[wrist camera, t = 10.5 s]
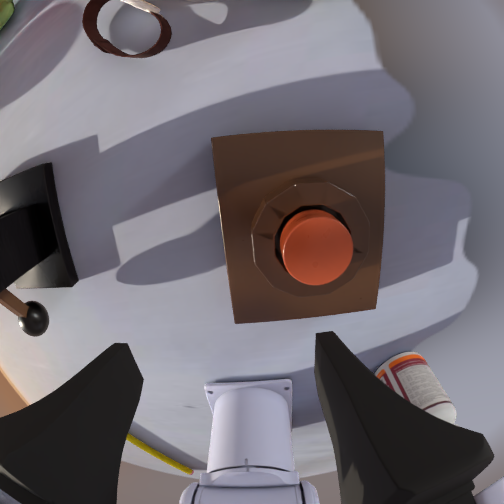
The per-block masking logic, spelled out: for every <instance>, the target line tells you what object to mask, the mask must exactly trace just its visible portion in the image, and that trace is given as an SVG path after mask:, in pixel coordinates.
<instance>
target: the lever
mask: <svg viewBox="0 0 504 504" xmlns="http://www.w3.org/2000/svg"><path fill="white" fill-rule="evenodd" d="M0 303H1V304H2V305H3V306H5V307H6V308H7V309H9V310H10V311H11V312H13V313H14V314H16V315H17V316H18V320H19V324H20V326H21V328H22V330H23V331H24V332H25V333H27V334H28V335H30V336H40V335H42V334H43V333H44V332H45V331H46V330H47V328H48V325H49V316H48V313H47V310H46V309H45V307H44V306H43V305H42V304H40V303H39V302H36V301H28V302H26V303H23V302H22V301H21V300H19V299H18V298H17V297H16V296H14V295H13V294H12V293H11V292H10V291H8V290H7V289H4V290H3V291H2V292H1V293H0Z"/></svg>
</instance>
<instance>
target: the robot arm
mask: <svg viewBox="0 0 504 504" xmlns="http://www.w3.org/2000/svg"><path fill="white" fill-rule="evenodd" d="M314 373H315V379H316V385H317V391H318V396H319V400H320V403H321V406H322V410H323V413H324V416H325V420H326V423H327V427H328V430H329V433H330V437H331V440H332V444H333V448H334V453H335V459H336V465H337V472H338V479H339V486H340V496H341V504H504V476H503V477H502V478H500V479H499V480H497V481H496V482H495V483H493V484H492V485H490V486H489V487H487V488H486V489H484V490H482V491H481V492H480V493H478V494H476V495H475V496H474V497H473V495H472V492H471V491H472V490H473V489H474V488H475V485H474V483H473V481H472V480H473V479H474V478H475V477H476V476H477V475H478V474H480V473H481V472H482V471H483V470H484V469H485V468H486V467H487V466H488V465H489V464H490V463H491V461H492V460H493V458H494V454H493V452H492V450H491V448H490V446H489V444H488V442H487V440H486V439H485V437H484V436H483V434H481V433H478V432H474V431H471V430H468V429H465V428H462V427H459V426H456V425H454V424H451V423H449V422H447V421H444V420H442V419H440V418H438V417H436V416H434V415H432V414H430V413H428V412H426V411H424V410H423V409H421V408H419V407H417V406H415V405H414V404H412V403H411V402H409V401H408V400H406V399H404V398H403V397H402V396H400V395H399V394H397V393H396V392H395V391H393V390H392V389H391V388H390V387H388V386H387V385H386V384H385V383H383V382H382V381H381V380H380V379H379V378H378V377H376V376H375V375H374V374H373V373H372V372H371V371H370V370H369V369H368V368H367V367H366V366H365V365H364V364H363V363H362V362H361V361H360V360H359V359H358V358H357V357H356V356H355V355H354V354H353V353H352V352H351V351H350V350H349V349H348V348H347V347H346V345H345V344H344V343H343V342H342V341H341V340H340V339H339V337H338V336H337V335H336V334H335V333H334V332H333V331H329V332H322V333H316V345H315V370H314ZM143 380H144V379H143V377H142V375H141V373H140V370H139V368H138V366H137V364H136V362H135V360H134V357H133V355H132V353H131V350H130V348H129V346H128V343H114V344H113V345H111V346H110V347H109V348H107V349H106V350H105V351H104V352H102V353H101V354H100V355H99V356H98V357H96V358H95V359H94V360H93V361H92V362H90V363H89V364H88V365H87V366H86V367H84V368H83V369H82V370H81V371H80V372H78V373H77V374H76V375H75V376H73V377H72V378H71V379H70V380H68V381H67V382H66V383H64V384H63V385H62V386H60V387H59V388H58V389H56V390H55V391H53V392H52V393H50V394H49V395H47V396H46V397H44V398H42V399H41V400H39V401H37V402H35V403H33V404H31V405H29V406H28V407H25V408H24V409H21V410H19V411H17V412H14V413H12V414H9V415H7V416H4V417H1V418H0V504H116V502H117V485H118V476H119V468H120V463H121V457H122V452H123V448H124V444H125V441H126V438H127V435H128V432H129V429H130V426H131V423H132V421H133V418H134V415H135V412H136V409H137V406H138V403H139V400H140V396H141V391H142V386H143ZM204 389H205V392H206V396H207V399H208V402H209V405H210V408H211V411H212V414H213V424H212V432H211V440H210V449H209V457H208V466H207V473H201V475H200V483H197V482H194V483H191V484H190V485H189V486H188V487H187V488H186V489H185V490H184V491H183V493H182V495H181V498H180V502H179V504H319V498H318V494H317V491H316V488H315V487H314V486H313V485H312V484H310V483H309V482H308V481H301V482H300V483H299V474H298V472H297V471H295V466H294V457H293V447H292V438H291V432H292V381H291V380H290V379H280V380H268V381H252V382H230V383H206V384H205V386H204Z"/></svg>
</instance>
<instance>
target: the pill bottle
mask: <svg viewBox="0 0 504 504" xmlns="http://www.w3.org/2000/svg"><path fill="white" fill-rule="evenodd" d="M374 375H375V376H376V377H378V378H379V379H380V380H381V381H382V382H383V383H385V384H386V385H387V386H388V387H390V388H391V389H392V390H393V391H395V392H396V393H397V394H399V395H400V396H402V397H403V398H404V399H406V400H408V401H409V402H411V403H412V404H414V405H415V406H417V407H419V408H421V409H423V410H424V411H426V412H428V413H430V414H432V415H434V416H436V417H438V418H440V419H442V420H444V421H447V422H449V423H451V424H454V422H455V420H456V409H455V408H454V405H453V404H452V402H451V400H450V399H449V397H448V396H447V394H446V392H445V391H444V389H443V388H442V386H441V384H440V383H439V381H438V379H437V378H436V376H435V375H434V373H433V372H432V370H431V368H430V367H429V366H428V364H427V362H426V361H425V359H424V358H423V357H422V356H421V355H420V354H419V353H416V352H404V353H401V354H398V355H396V356H394V357H392V358H390V359H389V360H387V361H386V362H385V363H384V364H382V365H381V366H380V367H379V368H378V370H377V371H376V372H375V374H374ZM454 425H456V426H459V425H457V424H454Z"/></svg>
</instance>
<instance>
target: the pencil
mask: <svg viewBox="0 0 504 504" xmlns="http://www.w3.org/2000/svg"><path fill="white" fill-rule="evenodd" d="M126 440H128V441H129V442H131V443H133V444H134V445H136V446H137V447H139V448H141V449H142V450H144V451H146V452H147V453H149V454H151V455H153V456H154V457H156V458H158V459H160V460H162V461H164V462H165V463H167V464H169V465H171V466H173V467H175V468H177V469H179V470H181V471H183V472H185V473H187V474H189V475H192V474H193V473H194V471H193V470H192V469H190V468H188V467H186V466H184V465H182V464H180V463H178V462H176V461H174V460H172V459H170V458H169V457H167V456H165V455H163V454H161V453H160V452H158V451H156V450H155V449H153V448H151V447H149V446H148V445H146V444H145V443H143V442H141V441H140V440H138V439H137V438H135V437H133V436H132V435H130V434H129V433H128V435H127V438H126Z"/></svg>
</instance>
